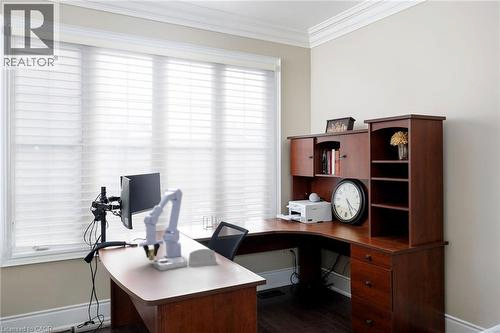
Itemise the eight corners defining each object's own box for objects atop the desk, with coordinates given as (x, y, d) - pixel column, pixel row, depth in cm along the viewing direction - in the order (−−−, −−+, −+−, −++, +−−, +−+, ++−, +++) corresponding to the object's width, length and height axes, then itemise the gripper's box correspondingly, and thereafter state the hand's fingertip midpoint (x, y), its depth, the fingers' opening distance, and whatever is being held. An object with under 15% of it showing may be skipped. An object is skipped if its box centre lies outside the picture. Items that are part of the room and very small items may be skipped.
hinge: (189, 267, 215) (188, 249, 218) (188, 267, 219) (187, 250, 222) (217, 264, 220) (216, 247, 223) (216, 264, 224) (214, 248, 227)
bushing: (153, 258, 227) (153, 248, 227) (156, 259, 224) (156, 249, 224) (146, 259, 225) (146, 249, 225) (149, 260, 221) (149, 250, 221)
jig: (178, 261, 227) (178, 256, 227) (186, 266, 217) (186, 261, 217) (153, 265, 218) (153, 260, 218) (160, 270, 208) (160, 265, 208)
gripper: (141, 237, 217) (141, 260, 217) (164, 234, 225) (165, 256, 225) (137, 235, 223) (138, 257, 223) (160, 232, 231) (161, 253, 231)
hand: (151, 256), depth 224 cm, fingers closed on bushing, 4 cm apart
